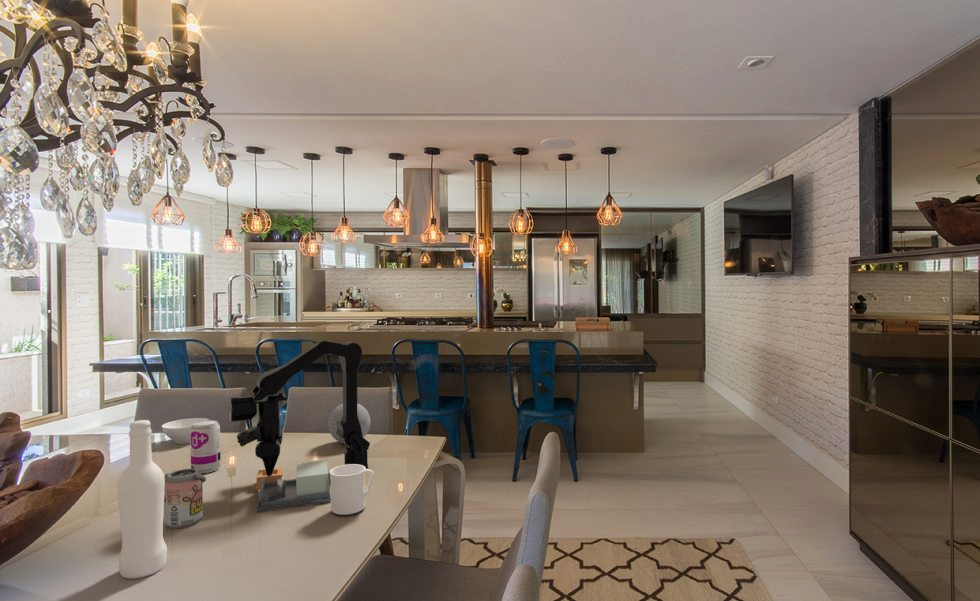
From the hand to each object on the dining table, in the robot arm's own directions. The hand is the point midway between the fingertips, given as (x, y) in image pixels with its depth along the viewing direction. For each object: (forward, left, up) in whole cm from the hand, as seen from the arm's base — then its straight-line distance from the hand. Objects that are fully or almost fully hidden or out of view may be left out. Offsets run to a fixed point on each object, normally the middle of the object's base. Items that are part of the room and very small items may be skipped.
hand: (270, 470), depth 152 cm
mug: (-21, +27, -4) cm, 34 cm away
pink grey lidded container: (+18, +19, -4) cm, 27 cm away
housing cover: (-11, +12, -3) cm, 17 cm away
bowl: (+33, -61, -4) cm, 70 cm away
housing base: (-7, +12, -4) cm, 14 cm away
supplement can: (+20, -21, -4) cm, 29 cm away
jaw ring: (0, 0, -4) cm, 4 cm away
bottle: (+21, +42, -4) cm, 47 cm away
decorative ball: (-25, -35, -4) cm, 43 cm away
